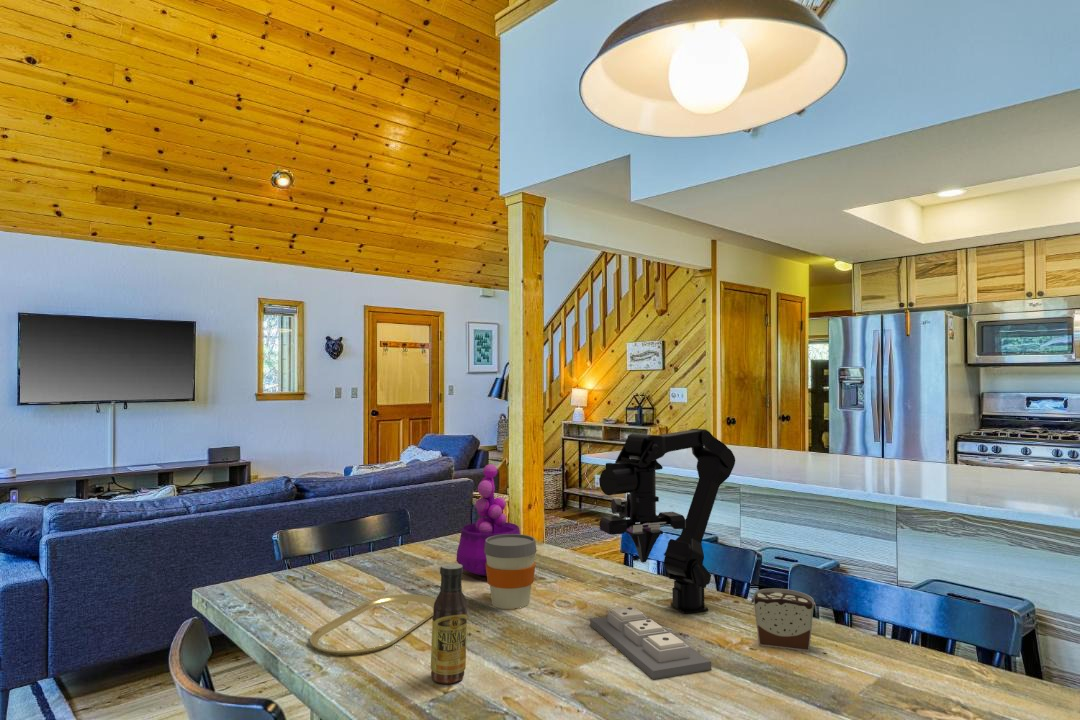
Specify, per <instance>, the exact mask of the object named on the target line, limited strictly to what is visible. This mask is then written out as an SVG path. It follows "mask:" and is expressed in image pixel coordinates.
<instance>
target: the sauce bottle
mask: <svg viewBox="0 0 1080 720" xmlns="http://www.w3.org/2000/svg"><path fill="white" fill-rule="evenodd" d="M439 569H440V570H439V573H440V588H439V589H440V591H439V594H437V596H436V599H435V600H436V601H435V603H434V610H433V609H432V613H433V611H434V613H433V616H432V620H431V621H432V624H431V626H432V627H431V648H430V650H431V652H430V670H431V672H430V673H431V674H430V678H431V679H432V681H433V682H436V683H438V684H455V683H456V682H460V681H461V680H463V678H464V676H465V670H466V669H467V668H466V665H467V636H468V635H467V634H468V633H467V630H468V629H467V628H468V611H467V610H468V606H467V605H468V604H467V599H466V596H465V595H464V593H463V591H462V588H463V587H462V581H463V580H462V576H463V571H464V570H463V566H462V565H461V564H458V563H455V562H450V563H443V564H442V565H440V568H439Z"/></svg>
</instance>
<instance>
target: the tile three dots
mask: <svg viewBox="0 0 1080 720" xmlns="http://www.w3.org/2000/svg"><path fill="white" fill-rule="evenodd" d="M629 627H630V628H631V629H633V630H634V631H635V632H637V633H638V634H639V635H641V634H648V633H655V632H662V631H663V628H664V627H663V626H662V625H660V624H659V623H657V622H656V621H654V620H653V619H652V618H649V619H647V620H639V621H632V622H629Z"/></svg>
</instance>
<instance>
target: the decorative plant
mask: <svg viewBox="0 0 1080 720" xmlns="http://www.w3.org/2000/svg"><path fill="white" fill-rule="evenodd" d="M482 472H483V475H484V476H485V477H483V478H482V480H480V482H479V484H477V485H478V486H477V492H478V494H479V495H480V496H481V497H482V498H481V497H480V498H479V499H477V500H476V501H475V506H474V507H475V509H476V510H477V513H478V515H479V516H480V517H479V519H478V520H476V522H473V523H469V524H465V525H463V526H462V528H461V531H460V536H459V537H460V539H459V543H458V547H457V551H456V561H455V562H457V564H461V565H462V566H463V571H466V572H468V573H471V574H473V575H478V576H483V577H484V576H486V577H487V573H486V565H485V564H486V562H487V559H486V554H485V553H484V549H485V540H486V539H487V538H489V537H491V536H495V535H502V534H521V532H520V527H519V525H518V524H515V523H512V522H507V519H508V518H507V515H506V514H505V513H503V510H505V508H506V506H507V504H506V503H507V502H506V500H505V499H504V498H503V497H495V491H496V489H495V488H496V487H495V486H496V485H495V481H494V477H495V478H496V476H497V474H498V469H497V466H496V465H494V464H491V463H490V464H486V465H485V466H484V468H483V471H482Z"/></svg>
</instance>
